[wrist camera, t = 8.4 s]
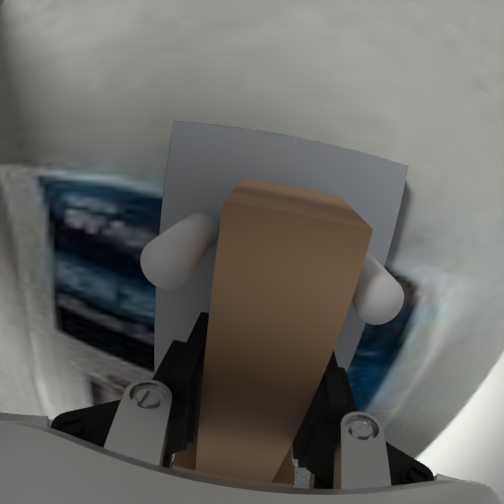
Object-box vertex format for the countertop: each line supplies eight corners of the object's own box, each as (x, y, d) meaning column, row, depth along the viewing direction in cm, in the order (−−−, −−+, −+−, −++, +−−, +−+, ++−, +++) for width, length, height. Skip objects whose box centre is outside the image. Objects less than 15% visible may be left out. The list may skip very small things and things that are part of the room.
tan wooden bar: (214, 173, 10) (177, 193, 6) (366, 201, 10) (412, 238, 6) (190, 438, 15) (174, 493, 11) (278, 452, 15) (275, 509, 11)
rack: (182, 124, 12) (126, 104, 7) (396, 165, 11) (465, 171, 6) (162, 413, 16) (135, 478, 11) (307, 438, 16) (311, 507, 11)
